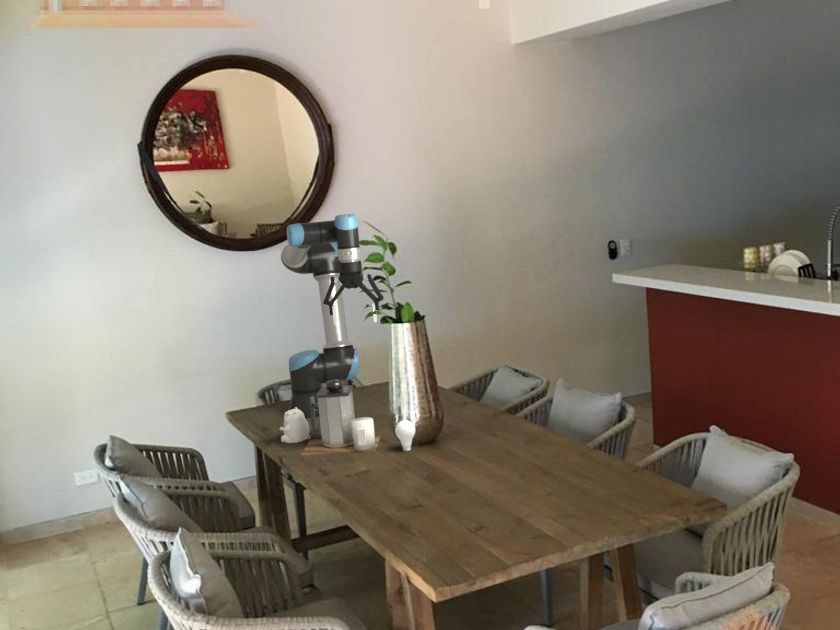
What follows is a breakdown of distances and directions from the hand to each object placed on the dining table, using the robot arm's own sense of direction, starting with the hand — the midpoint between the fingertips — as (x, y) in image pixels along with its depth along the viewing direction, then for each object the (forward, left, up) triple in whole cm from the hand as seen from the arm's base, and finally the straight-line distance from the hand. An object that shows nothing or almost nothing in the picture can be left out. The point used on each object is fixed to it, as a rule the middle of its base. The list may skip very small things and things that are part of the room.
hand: (355, 323), depth 295 cm
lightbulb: (+26, +16, -39) cm, 49 cm away
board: (+17, -6, -39) cm, 42 cm away
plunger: (+15, -7, -34) cm, 38 cm away
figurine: (+7, -23, -39) cm, 45 cm away
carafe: (+15, -8, -37) cm, 41 cm away
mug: (+21, +2, -37) cm, 43 cm away
